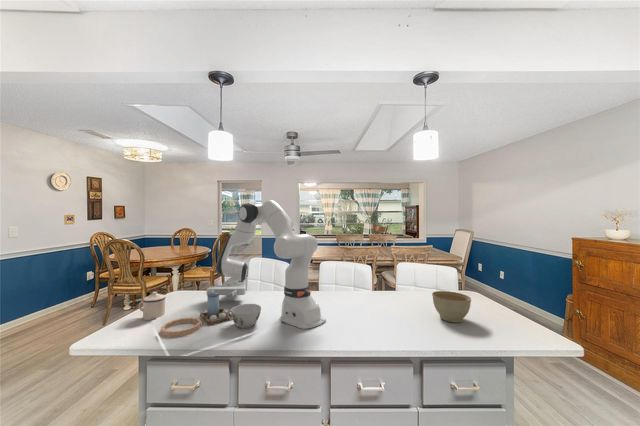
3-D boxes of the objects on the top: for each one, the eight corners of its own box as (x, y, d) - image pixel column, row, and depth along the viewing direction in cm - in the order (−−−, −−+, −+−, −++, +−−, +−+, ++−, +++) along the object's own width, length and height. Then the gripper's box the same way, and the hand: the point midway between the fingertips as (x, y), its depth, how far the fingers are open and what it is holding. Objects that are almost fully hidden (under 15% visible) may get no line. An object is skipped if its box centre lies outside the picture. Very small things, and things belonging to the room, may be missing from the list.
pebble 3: (229, 317, 115) (229, 310, 115) (222, 318, 113) (222, 312, 113) (226, 315, 118) (226, 308, 118) (220, 316, 115) (220, 310, 116)
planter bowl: (477, 327, 107) (477, 302, 107) (437, 324, 110) (437, 299, 110) (463, 313, 122) (463, 291, 123) (428, 311, 126) (428, 289, 126)
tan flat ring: (205, 331, 102) (205, 324, 102) (165, 342, 93) (165, 335, 93) (195, 320, 113) (195, 315, 113) (158, 330, 103) (158, 323, 103)
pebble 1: (217, 322, 109) (217, 315, 110) (210, 324, 107) (210, 317, 108) (215, 320, 112) (215, 313, 112) (208, 321, 110) (208, 315, 110)
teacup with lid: (169, 313, 122) (170, 289, 122) (156, 321, 113) (156, 295, 113) (146, 312, 122) (146, 289, 123) (131, 320, 113) (131, 294, 114)
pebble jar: (220, 317, 115) (221, 293, 115) (209, 320, 112) (209, 295, 112) (216, 314, 119) (217, 290, 119) (205, 316, 115) (205, 293, 116)
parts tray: (234, 320, 113) (234, 315, 113) (209, 327, 106) (209, 322, 106) (223, 312, 123) (223, 308, 123) (199, 318, 116) (199, 313, 116)
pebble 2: (227, 319, 112) (227, 313, 112) (220, 321, 110) (220, 314, 110) (224, 318, 114) (224, 311, 114) (217, 319, 112) (217, 313, 112)
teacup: (265, 321, 112) (265, 303, 113) (254, 334, 100) (254, 314, 100) (234, 319, 115) (234, 302, 115) (219, 331, 102) (219, 311, 102)
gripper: (211, 282, 141) (201, 288, 127) (248, 281, 142) (242, 288, 128) (211, 293, 141) (201, 301, 127) (248, 292, 142) (241, 300, 128)
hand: (222, 294), depth 127 cm, fingers open, 8 cm apart
